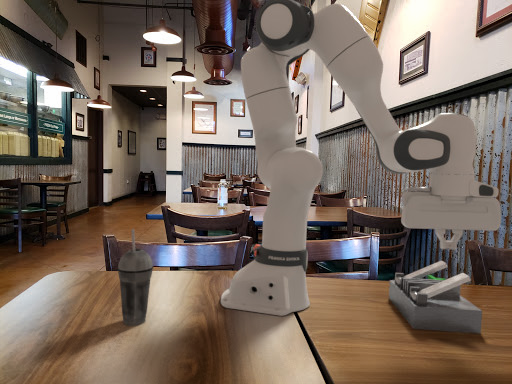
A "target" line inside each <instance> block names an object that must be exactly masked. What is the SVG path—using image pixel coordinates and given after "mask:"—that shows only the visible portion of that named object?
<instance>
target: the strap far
mask: <svg viewBox="0 0 512 384" xmlns="http://www.w3.org/2000/svg"><path fill="white" fill-rule="evenodd" d="M446 268H448V265H447V262H445V261H443V260H439V261H437V262H434V263H433V264H430V265H427V266H425V267H423V268H420V269H418V270H416V271H412V272H411V273H409V274H406V275H404V277H399V276H398V277H396V278H395V277H394V280H395V281H396V283H397V284H398V285H399V286H400V278H415V279H424V277H428V275H433V274H435V273H438V272H439V271H442V270H444V269H446Z"/></svg>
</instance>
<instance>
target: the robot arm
mask: <svg viewBox="0 0 512 384" xmlns="http://www.w3.org/2000/svg"><path fill="white" fill-rule="evenodd" d="M255 28H256V33H257V35H258V38H259V40H260V41H261V42H260V44H258V46H255V47H252V48H250V49H249V50H248V51H246V52H245V53H244V54H243V56H242V57H241V60H240V73H241V82H242V88H243V93H244V97H245V101H246V105H247V108H248V113H249V117H250V121H251V124H252V130H253V134H254V143H255V155H256V162H257V169H256V171H257V176H258V178H259V181H261V183H262V185H264V186H265V187H266V188H268V189H269V191H270V192H269V198H268V201H267V205H266V209H265V211H264V213H263V216H262V237H261V239H262V241H261V244H259V243H258V244H257V243H256V244H255V245H254V246H253V248H252V249H253V260H252V261H251V262H249V263H247V264H245V266H244V267H242V268H240V269H239V270H238V271H237V272H235V273H234V275H233V278H232V279H231V282H230V287H229V288H227V289H225V290H224V291H223V293H222V294H221V297H220V304H221V306H223V308H226V309H233V310H238V311H247V312H251V313H252V312H254V313H261V314H266V315H272V316H273V315H274V316H281V317H282V316H286V315H288V314H291V313H294V312H300V311H303V310H306V309H307V308H308V307H310V304H311V303H310V299H309V295H308V294H309V293H308V287H307V277H306V276H307V275H306V272H307V268H308V260H309V258H308V256H309V255H308V254H309V253H308V248H307V231H308V230H307V229H308V219H309V218H308V217H309V211H310V208H311V203H312V200H313V197H314V193H315V189H316V188H317V187H318V185H319V184H320V182H321V180H322V178H323V173H324V169H323V163H322V161H321V159H320V158H319V156H318V155H317V154H316V153H314V152H313V151H311V150H309V149H306V148H303V147H300V146H299V147H298V146H297V142H296V139H297V138H296V129H297V122H298V115H297V112H296V109H295V104H294V103H295V102H294V100H293V95H292V91H291V88H290V87H291V86H290V84H289V80H288V76H287V66H289V65H292V64H293V63H294V62H296V61H297V60H299V59H300V58H302V57H303V56H304V55H306V54H307V53H308V52H309V51H310V50H311V51H313V52H314V53H315V54H316V55H317V56H318V57H319V59H320V60H321V61H322V63H323V65H324V66H325V68H326V69H327V70H328V73H329V74H330V76H331V77H332V78H333V79H334V81H335V82H336V84H337V85H338V86H339V87H340V89H341V90H342V91H343V92H344V94H345V95H346V96H347V98H348V99H349V101H350V102H351V103H352V105H353V106H354V107H355V109H356V111H357V113H358V115H359V117H360V118H361V120H362V122H363V123H364V125H365V127H366V129H367V130H368V132H369V134H370V135H371V137H372V139H373V141H374V144H375V148H376V149H375V150H376V157H377V160H378V162H379V165H380V166H381V167H382V168H383V169H384V170H385V171H387V172H388V173H391V174H395V175H402V174H406V173H416V172H422V171H424V170H428V172H429V179H428V180H429V181H428V186H420V187H419V186H418V187H416V186H410V187H409V188H407V189H405V190H404V191H402V194H401V196H402V197H401V202H402V205H403V206H402V211H401V217H400V218H401V219H400V222H401V224H402V225H403V226H404V227H405V228H408V229H421V230H423V229H424V230H425V229H427V230H428V229H429V230H435V231H434V233H435V235H436V237H437V238H438V240H439V248H440V249H441V250H450V251H451V250H454V251H455V250H456V251H457V246H458V242H459V240H460V239H461V238H462V237H463V235H464V231H492V232H493V231H495V232H496V231H497V230H499V229H500V227H501V222H502V211H501V210H502V209H501V204H500V201H499V199H497V198H496V197H498V196H499V193H500V192H499V188H498V187H496V186H493V185H490V184H487V183H484V182H481V181H477V180H475V170H474V160H475V157H476V150H477V149H476V148H477V147H476V146H477V145H476V144H477V142H476V141H477V138H476V126H475V122H474V121H473V119H472V118H471V117H469V116H468V115H466V114H461V113H455V112H442V113H439V114H437V115H435V116H434V117H432V118H431V119H430V120H427V121H426V122H423V123H422V124H419V125H416V126H414V127H410V128H408V129H404V130H403V129H401V128H400V127H399V126H398V124H397V122H396V121H395V119H394V117H393V115H392V113H391V112H390V110H389V109H388V107H387V105H386V104H385V101H384V100H383V96H382V91H381V83H382V76H383V71H384V63H383V62H384V61H383V60H382V56H381V54H380V52H379V49H378V47H377V45H376V44H375V41H373V39H372V38H371V36H370V34H369V33H368V32H367V30H366V29H365V28H364V26H363V25H362V23H361V22H360V21H359V20H358V19H357V17H356V16H355V15H354V14H353V13H352V12H351V11H350V10H349V9H348V8H347V7H346V6H344V5H343V4H340V3H331V4H329V5H326V6H324V7H322V8H321V9H319V10H318V11H317V12H313V10H312V8H310V6H306V5H305V4H302V3H300V2H298V1H295V0H267V2H265V3H264V4H263V5H262V6H261V8H260V9H259V11H258V13H257V16H256V21H255ZM446 230H451V232H452V234H453V236H452V237H451V238H450V240H447V239H446V238H445V236H444V235H446Z"/></svg>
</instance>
